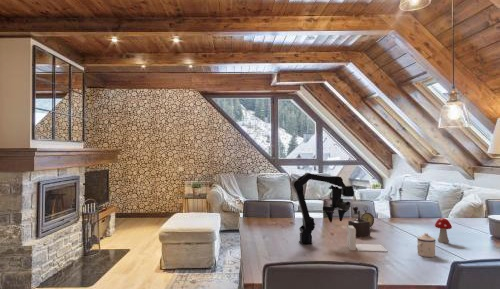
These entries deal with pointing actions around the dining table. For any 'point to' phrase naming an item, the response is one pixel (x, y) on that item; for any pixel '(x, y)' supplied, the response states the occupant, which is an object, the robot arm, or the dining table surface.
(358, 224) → the dark brown boxy piece
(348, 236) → the beige rectangular block
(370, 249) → the mat
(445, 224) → the decorative mushroom
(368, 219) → the alarm clock
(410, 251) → the dining table surface
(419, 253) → the teacup with lid
